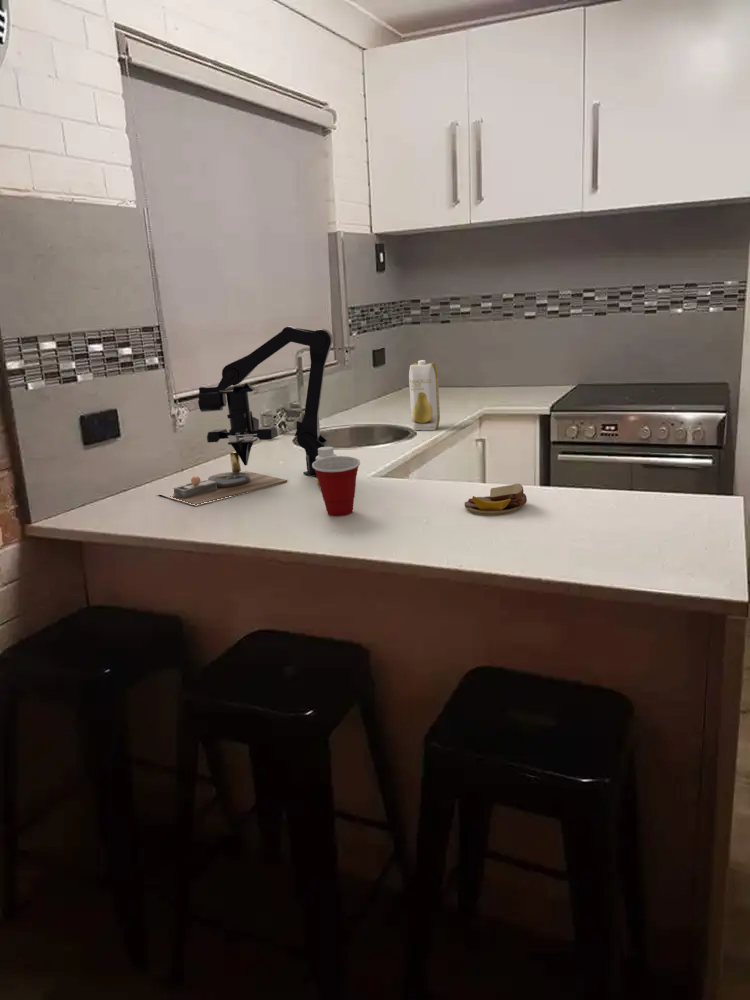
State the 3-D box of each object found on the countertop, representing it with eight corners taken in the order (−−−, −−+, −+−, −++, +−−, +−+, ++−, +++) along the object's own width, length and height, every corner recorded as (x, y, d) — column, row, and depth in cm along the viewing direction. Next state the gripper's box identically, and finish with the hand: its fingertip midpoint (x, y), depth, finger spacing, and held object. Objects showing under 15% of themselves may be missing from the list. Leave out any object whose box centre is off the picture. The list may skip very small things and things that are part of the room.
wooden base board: (287, 482, 203) (286, 471, 202) (195, 506, 185) (194, 495, 184) (246, 472, 217) (244, 463, 217) (157, 494, 199) (155, 484, 199)
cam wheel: (239, 474, 213) (236, 450, 211) (259, 480, 203) (256, 456, 202) (199, 482, 206) (196, 458, 204) (218, 489, 197) (215, 464, 195)
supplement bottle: (316, 485, 197) (312, 447, 194) (336, 482, 198) (333, 444, 196) (321, 490, 192) (317, 451, 189) (342, 487, 193) (338, 448, 190)
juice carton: (410, 431, 263) (406, 361, 256) (416, 427, 270) (412, 359, 263) (436, 431, 260) (433, 360, 253) (441, 426, 267) (438, 358, 261)
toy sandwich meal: (470, 500, 174) (469, 480, 173) (529, 501, 170) (529, 481, 169) (459, 516, 163) (458, 495, 161) (523, 518, 158) (522, 496, 157)
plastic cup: (321, 522, 165) (316, 469, 161) (312, 510, 175) (307, 459, 171) (369, 515, 167) (365, 462, 164) (357, 503, 177) (353, 453, 174)
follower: (217, 488, 198) (214, 472, 197) (190, 495, 193) (187, 479, 192) (211, 486, 200) (208, 471, 199) (184, 493, 195) (181, 477, 194)
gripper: (280, 403, 211) (286, 458, 215) (218, 407, 215) (225, 460, 219) (267, 408, 201) (274, 466, 204) (202, 412, 205) (210, 468, 208)
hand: (245, 465), depth 209 cm, fingers closed
